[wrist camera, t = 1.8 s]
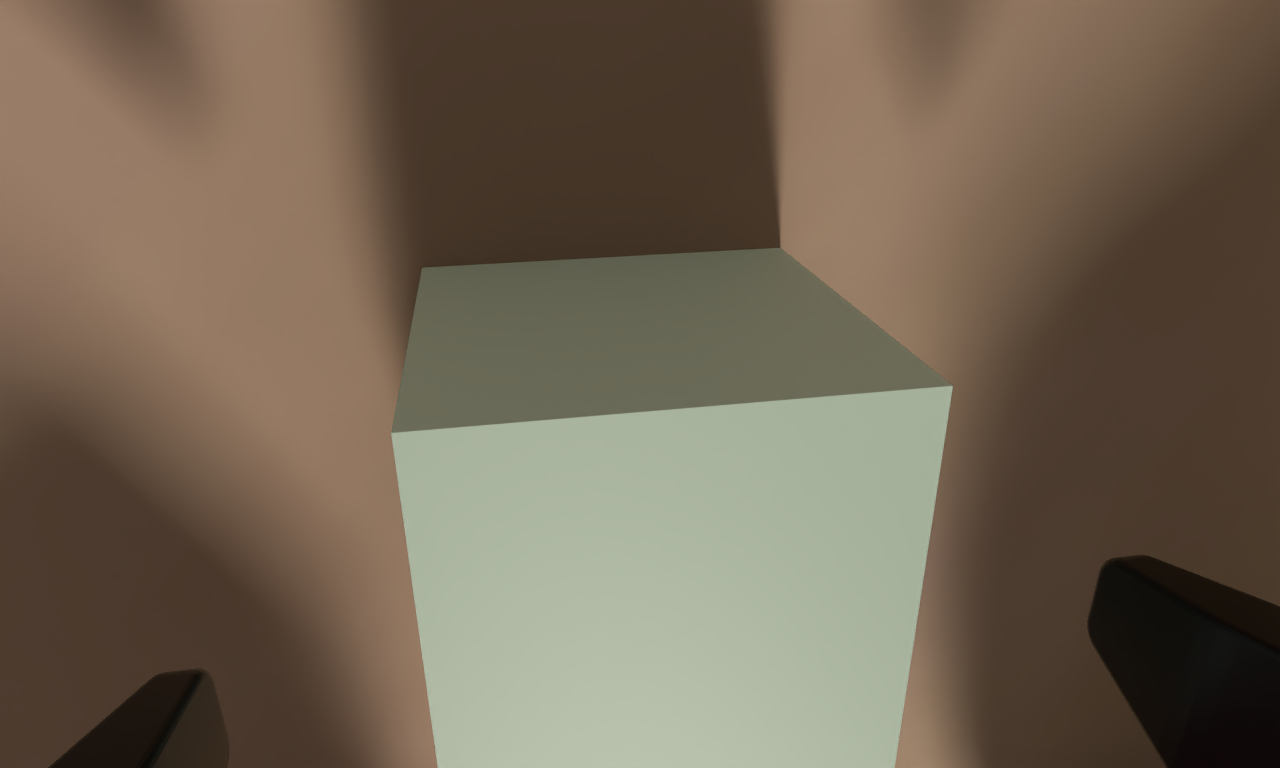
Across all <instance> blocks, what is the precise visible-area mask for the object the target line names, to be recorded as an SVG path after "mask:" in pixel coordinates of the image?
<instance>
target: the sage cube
mask: <svg viewBox="0 0 1280 768" xmlns="http://www.w3.org/2000/svg"><path fill="white" fill-rule="evenodd" d="M952 389H953V385H951V384H950V383H949V382H948V381H946V380H945V379H944V378H943V377H941V376H940V375H939V374H938V373H936V372H935V371H934V370H933V369H931V368H930V367H929V366H928V365H926V364H925V363H924V362H923V361H921V360H920V359H919V358H918V357H916V356H915V355H914V354H913V353H911V352H910V351H909V350H908V349H906V348H905V347H904V346H903V345H901V344H900V343H899V342H898V341H896V340H895V339H894V338H893V337H891V336H890V335H889V334H888V333H886V332H885V331H884V330H883V329H881V328H880V327H879V326H878V325H876V324H875V323H874V322H873V321H871V320H870V319H869V318H868V317H866V316H865V315H864V314H863V313H861V312H860V311H859V310H858V309H856V308H855V307H854V306H853V305H851V304H850V303H849V302H848V301H846V300H845V299H844V298H843V297H841V296H840V295H839V294H838V293H836V292H835V291H834V290H833V289H831V288H830V287H829V286H828V285H826V284H825V283H824V282H823V281H821V280H820V279H819V278H818V277H816V276H815V275H814V274H813V273H811V272H810V271H809V270H808V269H806V268H805V267H804V266H803V265H801V264H800V263H799V262H798V261H796V260H795V259H794V258H793V257H791V256H790V255H789V254H788V253H786V252H785V251H784V250H783V249H782V248H766V249H748V250H730V251H712V252H694V253H676V254H658V255H640V256H622V257H604V258H586V259H569V260H551V261H533V262H515V263H497V264H479V265H461V266H443V267H425V268H422V271H421V276H420V282H419V287H418V292H417V298H416V303H415V308H414V314H413V319H412V324H411V330H410V335H409V341H408V346H407V351H406V357H405V362H404V367H403V373H402V378H401V384H400V389H399V394H398V400H397V405H396V410H395V416H394V421H393V426H392V432H391V435H392V442H393V449H394V456H395V463H396V470H397V478H398V485H399V492H400V499H401V506H402V514H403V521H404V528H405V535H406V542H407V549H408V557H409V564H410V571H411V578H412V585H413V592H414V600H415V607H416V614H417V621H418V628H419V636H420V643H421V650H422V657H423V664H424V671H425V679H426V686H427V693H428V700H429V707H430V714H431V722H432V729H433V736H434V743H435V750H436V758H437V765H438V768H895V761H896V755H897V748H898V742H899V735H900V729H901V722H902V716H903V709H904V703H905V696H906V690H907V683H908V676H909V670H910V663H911V657H912V650H913V644H914V637H915V631H916V624H917V618H918V611H919V605H920V598H921V592H922V585H923V578H924V572H925V565H926V559H927V552H928V546H929V539H930V533H931V526H932V520H933V513H934V507H935V500H936V493H937V487H938V480H939V474H940V467H941V461H942V454H943V448H944V441H945V435H946V428H947V422H948V415H949V408H950V402H951V395H952Z"/></svg>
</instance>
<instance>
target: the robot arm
mask: <svg viewBox="0 0 1280 768" xmlns="http://www.w3.org/2000/svg"><path fill="white" fill-rule="evenodd" d="M1087 626H1088V633H1089V637H1090V639H1091V642H1092V644H1093V646H1094V648H1095V649H1096V651H1097V653H1098V654H1099V656H1100V658H1101V660H1102V661H1103V663H1104V665H1105V666H1106V668H1107V670H1108V671H1109V673H1110V675H1111V676H1112V678H1113V680H1114V681H1115V683H1116V685H1117V686H1118V688H1119V690H1120V691H1121V693H1122V695H1123V696H1124V698H1125V700H1126V701H1127V703H1128V705H1129V706H1130V708H1131V710H1132V711H1133V713H1134V715H1135V716H1136V718H1137V720H1138V721H1139V723H1140V725H1141V726H1142V728H1143V730H1144V731H1145V733H1146V735H1147V737H1148V738H1149V740H1150V742H1151V743H1152V745H1153V747H1154V748H1155V750H1156V752H1157V753H1158V755H1159V756H1160V758H1161V759H1162V761H1163V763H1164V764H1165V766H1166V767H1167V768H1280V606H1277V605H1275V604H1272V603H1270V602H1267V601H1264V600H1262V599H1259V598H1257V597H1254V596H1251V595H1249V594H1246V593H1244V592H1241V591H1238V590H1236V589H1233V588H1231V587H1228V586H1225V585H1223V584H1220V583H1218V582H1215V581H1213V580H1210V579H1207V578H1205V577H1202V576H1200V575H1197V574H1194V573H1192V572H1189V571H1187V570H1184V569H1181V568H1179V567H1176V566H1174V565H1171V564H1168V563H1166V562H1163V561H1161V560H1158V559H1156V558H1153V557H1150V556H1146V555H1134V556H1126V557H1117V558H1112V559H1109V560H1107V561H1106V562H1105V563H1104V564H1103V566H1102V567H1101V569H1100V572H1099V576H1098V579H1097V583H1096V587H1095V591H1094V595H1093V599H1092V603H1091V607H1090V611H1089V615H1088V620H1087ZM228 756H229V742H228V735H227V731H226V727H225V723H224V719H223V716H222V712H221V708H220V704H219V701H218V697H217V693H216V689H215V686H214V682H213V679H212V677H211V676H210V674H209V673H208V671H206V670H203V669H199V668H198V669H190V670H181V671H173V672H165V673H161V674H158V675H156V676H155V677H153V678H152V679H150V680H149V681H148V682H147V683H146V684H145V685H143V686H142V687H141V688H140V689H139V690H138V691H136V692H135V693H134V694H133V695H132V696H131V697H129V698H128V699H127V700H126V701H125V702H124V703H123V704H121V705H120V706H119V707H118V708H117V709H116V710H114V711H113V712H112V713H111V714H110V715H109V716H107V717H106V718H105V719H104V720H103V721H102V722H100V723H99V724H98V725H97V726H96V727H95V728H94V729H92V730H91V731H90V732H89V733H88V734H87V735H85V736H84V737H83V738H82V739H81V740H80V741H78V742H77V743H76V744H75V745H74V746H73V747H72V748H70V749H69V750H68V751H67V752H66V753H65V754H63V755H62V756H61V757H60V758H59V759H58V760H56V761H55V762H54V763H53V764H52V765H51V766H49V767H48V768H227V765H228Z"/></svg>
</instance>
